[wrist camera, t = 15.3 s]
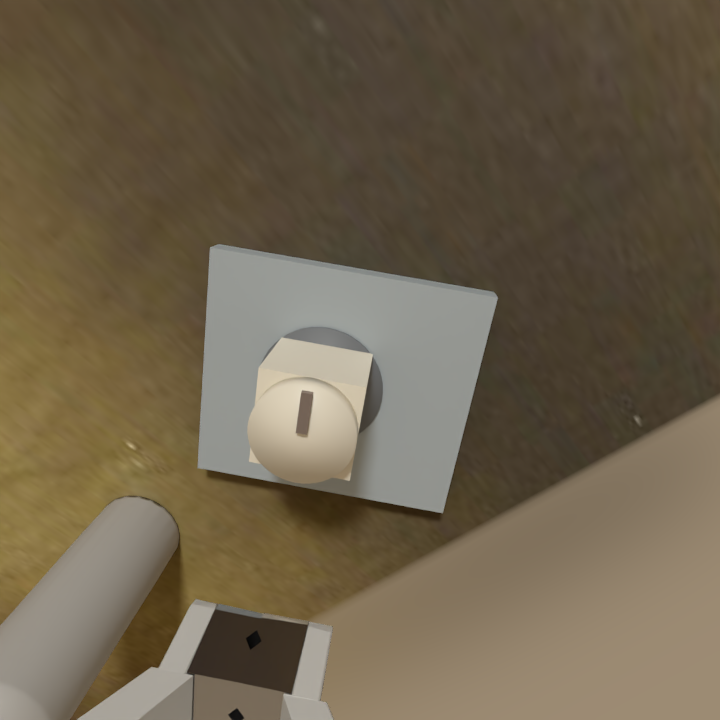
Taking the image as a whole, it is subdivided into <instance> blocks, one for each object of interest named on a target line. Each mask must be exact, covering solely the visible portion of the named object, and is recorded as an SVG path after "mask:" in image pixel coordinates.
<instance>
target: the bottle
mask: <svg viewBox="0 0 720 720" xmlns="http://www.w3.org/2000/svg"><path fill="white" fill-rule="evenodd" d="M179 538H180V537H179V529H178V526H177V523H176V522H175V520H174V518H173V517H172V516H171V514H170V513H169V512H168V511H167V510H166V509H165V508H163V507H162V506H161V505H160V504H158V503H156V502H155V501H152V500H150V499H147V498H144V497H138V496H125V497H121V498H118V499H115V500H114V501H112V502H111V503H109V504H108V505H107V506H106V507H105V509H104V510H103V511H102V512H101V513H100V514H99V515H98V516H97V517H96V519H95V520H94V521H93V522H92V523H91V524H90V525H89V526H88V527H87V528H86V529H85V530H84V531H83V533H82V534H81V535H80V536H79V537H78V538H77V539H76V540H75V542H74V543H73V544H72V545H71V546H70V547H69V548H68V550H67V551H66V552H65V553H64V554H63V555H62V556H61V557H60V559H59V560H58V561H57V562H56V563H55V564H54V565H53V567H52V568H51V569H50V570H49V571H48V572H47V573H46V574H45V576H44V577H43V578H42V579H41V580H40V581H39V582H38V584H37V585H36V586H35V587H34V588H33V589H32V590H31V592H30V593H29V594H28V595H27V596H26V597H25V598H24V599H23V601H22V602H21V603H20V604H19V605H18V606H17V607H16V609H15V610H14V611H13V612H12V613H11V614H10V615H9V616H8V618H7V619H6V620H5V621H4V622H3V623H2V624H1V626H0V720H70V718H71V717H72V715H73V713H74V712H75V710H76V709H77V707H78V706H79V704H80V702H81V701H82V699H83V698H84V696H85V694H86V693H87V691H88V690H89V688H90V686H91V685H92V683H93V682H94V680H95V678H96V677H97V675H98V674H99V672H100V671H101V669H102V667H103V666H104V664H105V663H106V661H107V659H108V658H109V656H110V655H111V653H112V651H113V650H114V648H115V647H116V645H117V643H118V642H119V640H120V639H121V637H122V636H123V634H124V632H125V631H126V629H127V628H128V626H129V624H130V623H131V621H132V620H133V618H134V616H135V615H136V613H137V612H138V610H139V608H140V607H141V605H142V604H143V602H144V601H145V599H146V597H147V596H148V594H149V593H150V591H151V589H152V588H153V586H154V585H155V583H156V581H157V580H158V578H159V577H160V575H161V573H162V572H163V570H164V568H165V567H166V565H167V563H168V562H169V560H170V559H171V557H172V555H173V554H174V552H175V550H176V549H177V547H178V544H179Z"/></svg>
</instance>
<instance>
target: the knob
mask: <svg viewBox="0 0 720 720" xmlns="http://www.w3.org/2000/svg"><path fill="white" fill-rule="evenodd" d="M372 357H373V354H371V353H365V352H360V351H354V350H349V349H343V348H338V347H332V346H327V345H321V344H316V343H310V342H305V341H299V340H294V339H288V338H283V337H281V339H280V340H279V341H278V343H277V344H276V345H275V347H274V348H273V349H272V351H271V352H270V353H269V355H268V356H267V357H266V358H265V360H264V361H263V362H262V364H261V365H260V366H259V368H258V378H257V388H256V397H255V406H254V408H253V410H252V412H251V414H250V417H249V420H248V426H247V434H248V440H249V444H250V457H249V462H253V463H258V464H262V465H263V466H264V467H265V468H266V469H267V470H268V471H269V472H271V473H272V474H274V475H276V476H278V477H280V478H282V479H284V480H287V481H290V482H294V483H301V484H311V483H318V482H323V481H325V480H328V479H330V478H338V479H343V480H348V481H350V476H351V471H352V466H353V460H354V455H355V450H356V444H357V439H358V434H359V428H360V423H361V417H362V412H363V406H364V401H365V395H366V390H367V384H368V379H369V373H370V368H371V362H372Z"/></svg>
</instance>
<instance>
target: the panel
mask: <svg viewBox="0 0 720 720" xmlns="http://www.w3.org/2000/svg"><path fill="white" fill-rule="evenodd" d="M497 299H498V297H497V296H496V294H495V293H494V292H491V291H485V290H480V289H474V288H468V287H462V286H457V285H451V284H445V283H439V282H434V281H428V280H422V279H416V278H411V277H405V276H399V275H393V274H388V273H382V272H376V271H370V270H365V269H359V268H353V267H347V266H342V265H336V264H330V263H324V262H319V261H313V260H307V259H301V258H296V257H290V256H284V255H278V254H273V253H267V252H261V251H255V250H250V249H244V248H238V247H232V246H227V245H221V244H218V245H215V246H213V247H210V259H209V276H208V294H207V311H206V329H205V347H204V364H203V382H202V400H201V417H200V435H199V452H198V468H201V469H207V470H212V471H218V472H223V473H228V474H234V475H239V476H245V477H250V478H255V479H261V480H266V481H271V482H277V483H282V484H288V485H293V486H298V487H304V488H309V489H315V490H320V491H325V492H331V493H336V494H342V495H347V496H352V497H358V498H363V499H368V500H374V501H379V502H385V503H390V504H395V505H401V506H406V507H412V508H417V509H422V510H428V511H433V512H439V513H443V510H444V506H445V502H446V498H447V494H448V490H449V486H450V483H451V479H452V475H453V471H454V467H455V463H456V459H457V455H458V451H459V447H460V443H461V440H462V436H463V432H464V428H465V424H466V420H467V416H468V412H469V408H470V404H471V400H472V397H473V393H474V389H475V385H476V381H477V377H478V373H479V369H480V365H481V361H482V357H483V354H484V350H485V346H486V342H487V338H488V334H489V330H490V326H491V322H492V318H493V314H494V311H495V307H496V303H497ZM281 337H283V338H288V339H294V340H299V341H305V342H310V343H316V344H321V345H327V346H332V347H338V348H343V349H349V350H354V351H360V352H365V353H371V354H373V357H372V362H371V368H370V373H369V379H368V384H367V390H366V395H365V401H364V406H363V412H362V417H361V423H360V428H359V434H358V439H357V444H356V450H355V455H354V460H353V466H352V471H351V476H350V481H348V480H343V479H338V478H330V479H328V480H325V481H323V482H318V483H311V484H301V483H294V482H290V481H287V480H284V479H282V478H280V477H278V476H276V475H274V474H272V473H271V472H269V471H268V470H267V469H266V468H265V467H264V466H263V465H262V464H258V463H253V462H249V457H250V444H249V440H248V434H247V426H248V420H249V417H250V414H251V412H252V410H253V408H254V406H255V397H256V388H257V378H258V368H259V366H260V365H261V364H262V362H263V361H264V360H265V358H266V357H267V356H268V355H269V353H270V352H271V351H272V349H273V348H274V347H275V345H276V344H277V343H278V341H279V340H280V339H281Z"/></svg>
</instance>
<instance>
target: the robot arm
mask: <svg viewBox="0 0 720 720" xmlns="http://www.w3.org/2000/svg"><path fill="white" fill-rule="evenodd" d="M332 631H333V626H328V625H323V624H318V623H313V622H309V621H304V620H299V619H293V618H288V617H282V616H277V615H271V614H266V613H264V614H261V613H257V612H253V611H248V610H244V609H239V608H235V607H230V606H226V605H221V604H216V603H211V602H207V601H202V600H197V599H196V600H195V601H194V602H193V603H192V604H191V605H190V607H189V609H188V611H187V613H186V615H185V617H184V619H183V621H182V623H181V625H180V627H179V629H178V631H177V633H176V635H175V636H174V638H173V640H172V642H171V644H170V646H169V648H168V650H167V652H166V654H165V656H164V658H163V660H162V662H161V664H160V666H159V668H155V667H150V668H149V669H148V670H146V671H145V672H143V673H142V674H141V675H139V676H138V677H136V678H135V679H134V680H132V681H131V682H129V683H128V684H127V685H125V686H124V687H122V688H121V689H119V690H118V691H117V692H115V693H114V694H112V695H111V696H110V697H108V698H107V699H105V700H104V701H103V702H101V703H100V704H98V705H97V706H96V707H94V708H93V709H91V710H90V711H88V712H87V713H86V714H84V715H83V716H81V717H80V718H79V719H77V720H334V719H333V716H332V714H331V711H330V709H329V706H328V704H327V702H323V701H321V695H322V689H323V684H324V677H325V672H326V666H327V660H328V654H329V648H330V643H331V637H332Z"/></svg>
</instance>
